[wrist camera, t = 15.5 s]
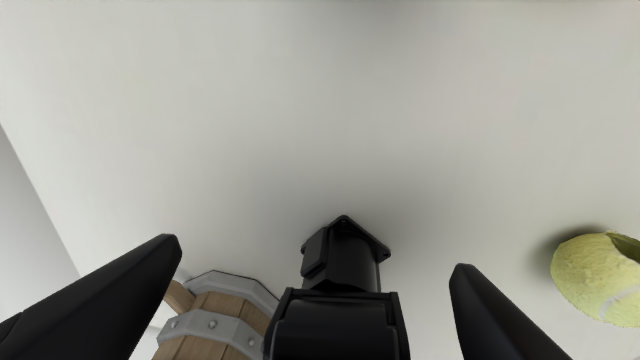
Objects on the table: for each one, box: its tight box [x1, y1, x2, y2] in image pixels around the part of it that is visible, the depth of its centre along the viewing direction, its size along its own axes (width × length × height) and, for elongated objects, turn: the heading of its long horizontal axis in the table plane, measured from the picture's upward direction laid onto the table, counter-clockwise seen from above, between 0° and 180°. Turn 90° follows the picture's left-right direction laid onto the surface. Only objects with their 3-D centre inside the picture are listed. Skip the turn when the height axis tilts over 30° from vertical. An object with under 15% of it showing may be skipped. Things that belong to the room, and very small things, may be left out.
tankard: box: [152, 271, 279, 360], centre depth 26 cm, size 20×13×15 cm, turn 34°
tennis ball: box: [550, 229, 640, 328], centre depth 20 cm, size 6×7×7 cm
